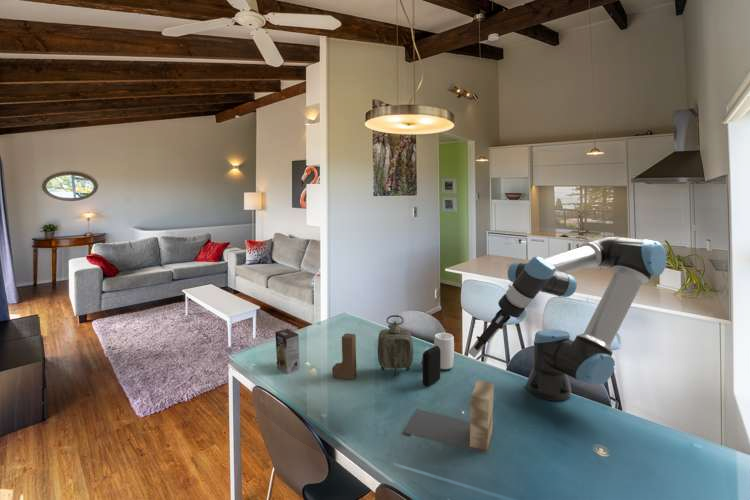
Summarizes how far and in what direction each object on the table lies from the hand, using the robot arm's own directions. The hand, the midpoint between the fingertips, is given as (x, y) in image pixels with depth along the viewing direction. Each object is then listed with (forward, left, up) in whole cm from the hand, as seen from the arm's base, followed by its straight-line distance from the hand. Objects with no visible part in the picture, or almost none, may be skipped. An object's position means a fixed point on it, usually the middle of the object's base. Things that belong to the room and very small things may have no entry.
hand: (478, 347), depth 130 cm
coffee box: (+80, 0, -23) cm, 83 cm away
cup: (+19, -27, -23) cm, 40 cm away
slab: (-4, +16, -22) cm, 28 cm away
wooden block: (+54, -3, -23) cm, 58 cm away
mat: (+6, +16, -23) cm, 28 cm away
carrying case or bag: (+20, -11, -23) cm, 32 cm away
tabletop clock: (+36, -14, -23) cm, 45 cm away
